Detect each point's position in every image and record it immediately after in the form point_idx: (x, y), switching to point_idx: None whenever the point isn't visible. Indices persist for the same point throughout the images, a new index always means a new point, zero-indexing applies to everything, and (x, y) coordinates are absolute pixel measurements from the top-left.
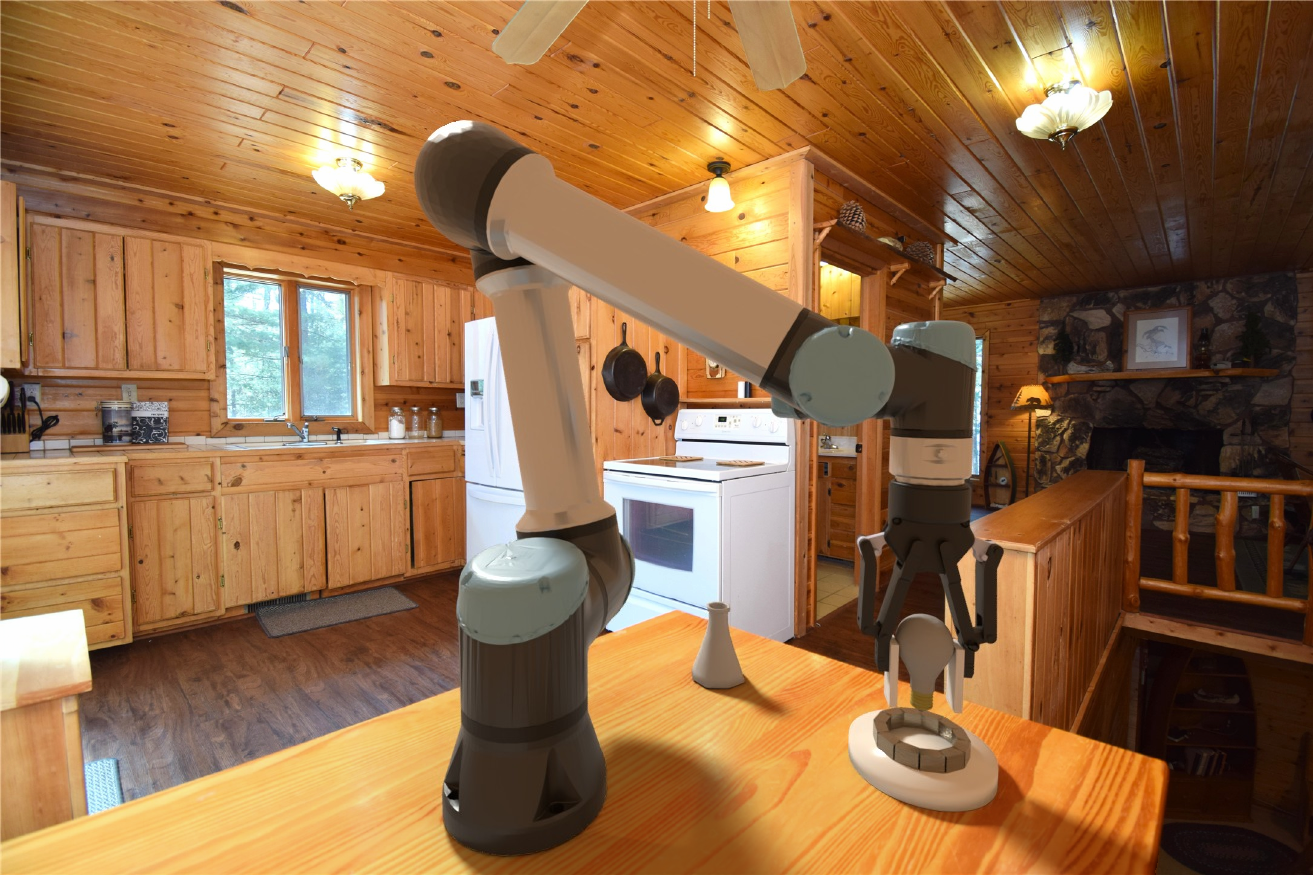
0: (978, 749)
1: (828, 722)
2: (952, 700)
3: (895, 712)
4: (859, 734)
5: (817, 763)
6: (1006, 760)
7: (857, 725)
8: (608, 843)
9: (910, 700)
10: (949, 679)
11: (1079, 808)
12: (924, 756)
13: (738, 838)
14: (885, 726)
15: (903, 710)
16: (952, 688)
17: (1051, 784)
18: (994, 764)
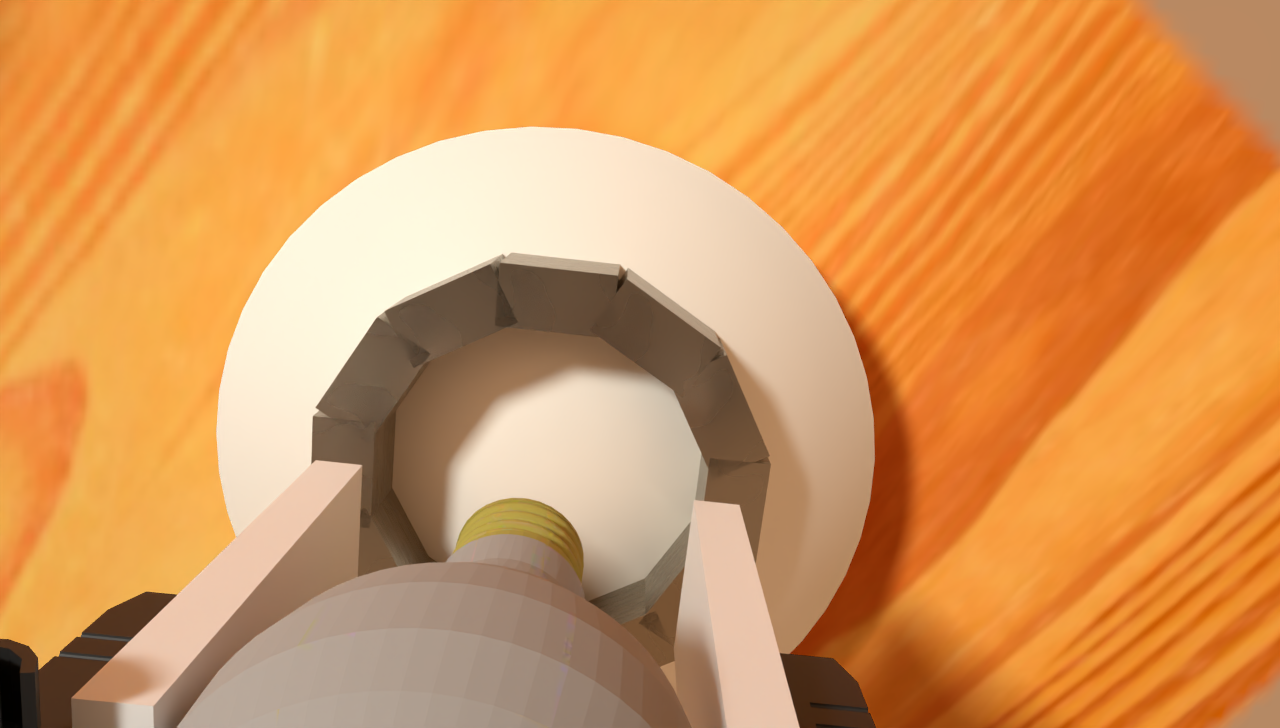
0: (811, 480)
1: (193, 118)
2: (681, 640)
3: (457, 328)
4: (271, 398)
5: (111, 462)
6: (956, 382)
7: (275, 317)
8: None
9: (463, 528)
10: (695, 629)
11: (1053, 651)
12: None
13: None
14: (364, 471)
15: (510, 303)
16: (684, 679)
17: (1044, 527)
18: (825, 581)
